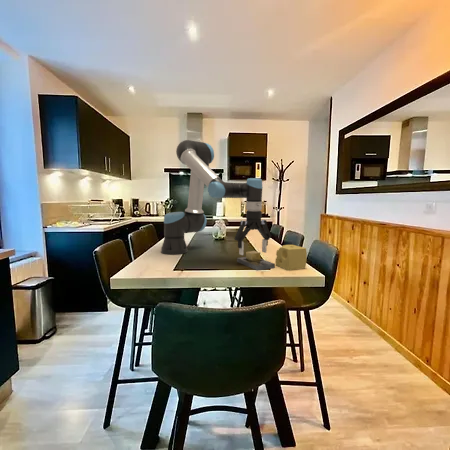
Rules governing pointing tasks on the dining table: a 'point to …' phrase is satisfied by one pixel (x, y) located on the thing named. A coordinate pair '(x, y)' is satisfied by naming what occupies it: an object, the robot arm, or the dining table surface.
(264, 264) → the metal plate
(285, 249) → the cheese
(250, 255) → the yellow cube
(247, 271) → the dining table surface
